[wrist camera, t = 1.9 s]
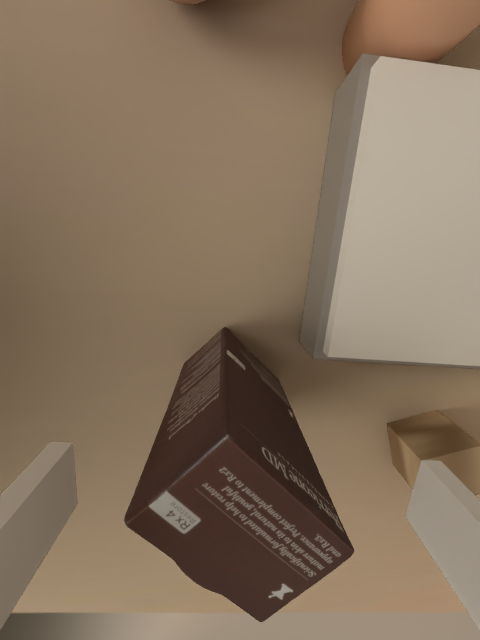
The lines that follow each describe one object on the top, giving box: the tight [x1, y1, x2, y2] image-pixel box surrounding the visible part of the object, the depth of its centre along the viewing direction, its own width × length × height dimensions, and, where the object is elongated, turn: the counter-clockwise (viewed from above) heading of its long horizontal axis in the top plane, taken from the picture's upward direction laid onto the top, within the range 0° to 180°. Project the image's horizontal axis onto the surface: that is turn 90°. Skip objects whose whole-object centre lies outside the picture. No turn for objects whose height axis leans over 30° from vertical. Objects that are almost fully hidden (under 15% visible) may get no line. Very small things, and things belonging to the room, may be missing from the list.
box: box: [124, 327, 354, 622], centre depth 14 cm, size 6×4×12 cm
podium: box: [299, 54, 480, 369], centre depth 16 cm, size 15×15×4 cm
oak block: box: [387, 410, 480, 495], centre depth 20 cm, size 4×4×4 cm
